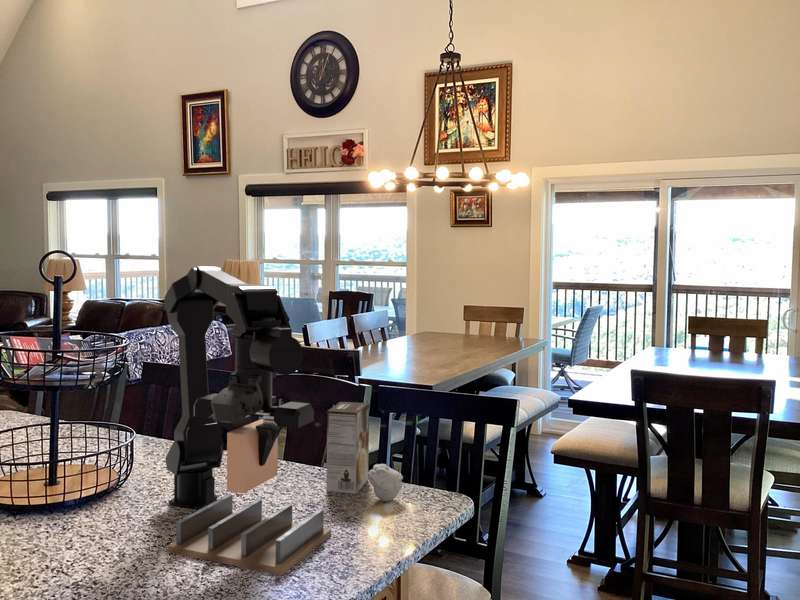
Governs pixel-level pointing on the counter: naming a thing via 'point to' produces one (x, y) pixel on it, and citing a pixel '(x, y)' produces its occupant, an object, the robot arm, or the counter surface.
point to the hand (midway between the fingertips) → (252, 464)
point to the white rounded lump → (385, 482)
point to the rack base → (257, 560)
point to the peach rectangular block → (248, 459)
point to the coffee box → (347, 447)
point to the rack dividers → (231, 525)
